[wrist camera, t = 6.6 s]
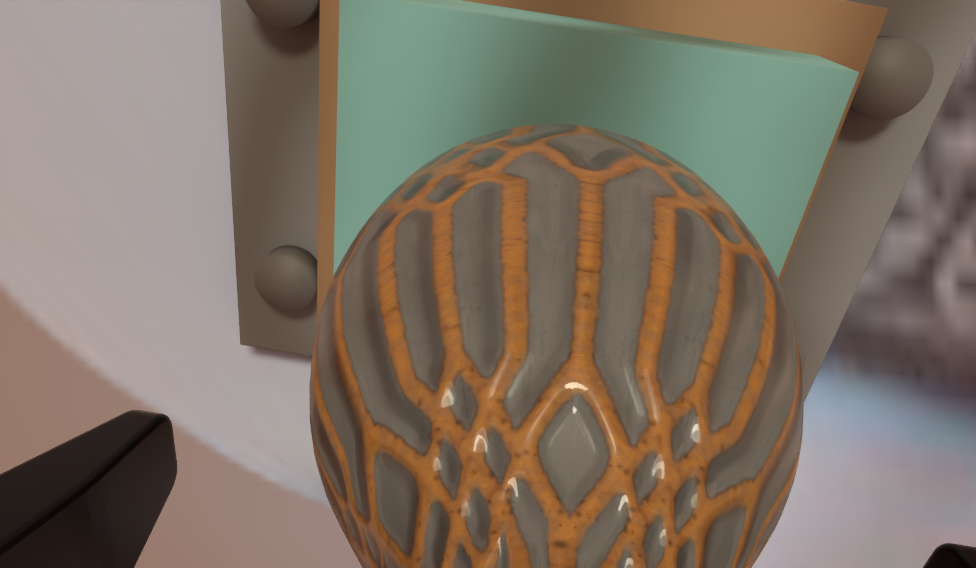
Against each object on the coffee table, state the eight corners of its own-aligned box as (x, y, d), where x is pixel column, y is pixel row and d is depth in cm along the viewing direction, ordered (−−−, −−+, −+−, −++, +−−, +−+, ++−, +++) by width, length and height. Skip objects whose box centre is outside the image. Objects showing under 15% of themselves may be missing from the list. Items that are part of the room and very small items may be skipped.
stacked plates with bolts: (986, -53, 15) (1222, -52, 10) (779, 414, 22) (852, 566, 16) (229, -166, 15) (59, -226, 10) (253, 328, 22) (157, 450, 17)
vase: (770, 106, 11) (1232, 447, 4) (683, 414, 15) (827, 944, 7) (384, 67, 12) (42, 302, 4) (382, 377, 15) (193, 842, 7)
